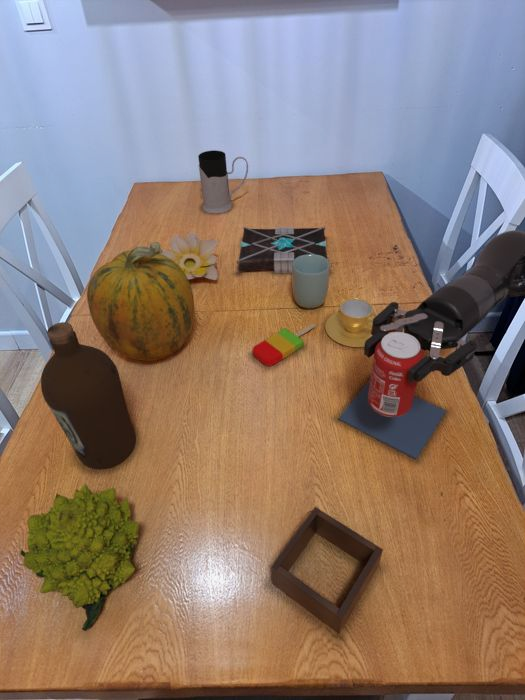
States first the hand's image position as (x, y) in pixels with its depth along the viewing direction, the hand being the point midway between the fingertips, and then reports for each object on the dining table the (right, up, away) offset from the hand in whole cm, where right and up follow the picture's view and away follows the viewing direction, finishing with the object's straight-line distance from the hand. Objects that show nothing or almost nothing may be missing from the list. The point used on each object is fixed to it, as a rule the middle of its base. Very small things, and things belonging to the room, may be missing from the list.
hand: (387, 363), depth 64 cm
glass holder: (-27, +44, +80) cm, 96 cm away
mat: (+6, -9, +19) cm, 22 cm away
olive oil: (-42, -14, +16) cm, 47 cm away
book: (-11, +25, +58) cm, 65 cm away
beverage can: (+2, -6, +8) cm, 10 cm away
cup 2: (+2, +6, +36) cm, 37 cm away
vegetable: (-39, -27, +2) cm, 47 cm away
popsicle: (-11, +3, +33) cm, 35 cm away
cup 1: (-6, +12, +43) cm, 45 cm away
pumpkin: (-39, +3, +35) cm, 52 cm away
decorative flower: (-34, +19, +53) cm, 66 cm away
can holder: (-8, -28, -1) cm, 29 cm away
